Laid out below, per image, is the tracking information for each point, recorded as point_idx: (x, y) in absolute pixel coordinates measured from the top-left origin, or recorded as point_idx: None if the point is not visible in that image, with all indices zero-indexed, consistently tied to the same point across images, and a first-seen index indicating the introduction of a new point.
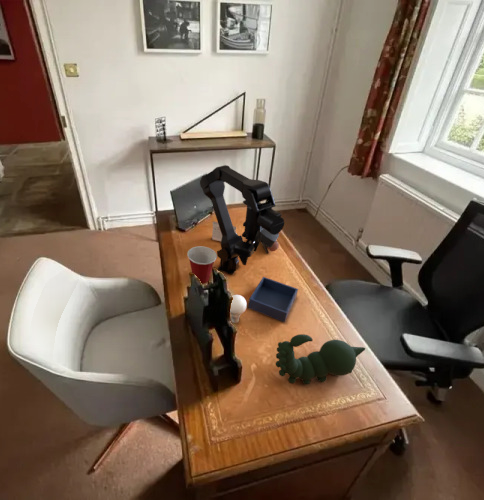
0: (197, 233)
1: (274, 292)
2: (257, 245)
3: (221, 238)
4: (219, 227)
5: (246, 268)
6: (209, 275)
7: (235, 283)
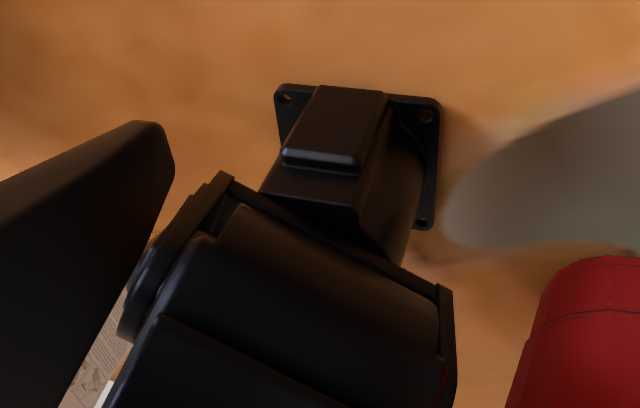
0: None
1: None
2: (22, 238)
3: None
4: None
5: (260, 2)
6: (627, 301)
7: (566, 23)
